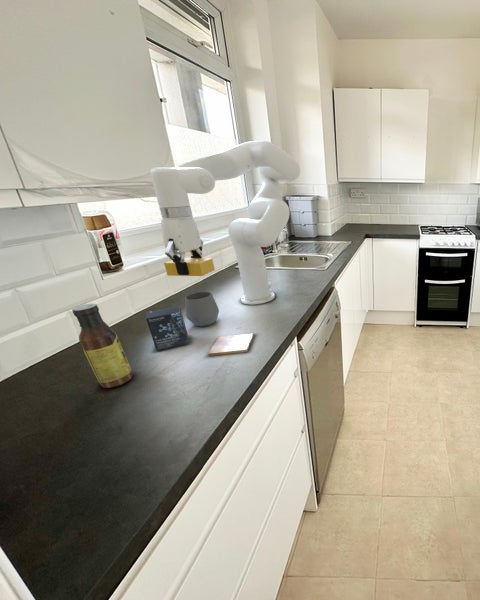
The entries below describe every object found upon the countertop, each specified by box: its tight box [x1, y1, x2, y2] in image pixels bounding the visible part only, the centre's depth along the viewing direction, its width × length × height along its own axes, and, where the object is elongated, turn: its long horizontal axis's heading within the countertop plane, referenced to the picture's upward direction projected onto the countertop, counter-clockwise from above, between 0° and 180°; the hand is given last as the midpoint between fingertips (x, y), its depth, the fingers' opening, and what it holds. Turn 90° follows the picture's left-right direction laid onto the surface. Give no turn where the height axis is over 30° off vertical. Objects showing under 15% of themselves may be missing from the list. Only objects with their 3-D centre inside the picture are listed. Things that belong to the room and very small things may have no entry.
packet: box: [163, 257, 216, 277], centre depth 98 cm, size 6×11×4 cm, turn 88°
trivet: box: [207, 332, 255, 357], centre depth 92 cm, size 10×10×1 cm
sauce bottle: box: [71, 303, 133, 389], centre depth 72 cm, size 7×6×20 cm
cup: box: [184, 291, 220, 327], centre depth 104 cm, size 10×9×10 cm
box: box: [145, 305, 190, 352], centre depth 91 cm, size 8×6×11 cm
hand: (191, 270), depth 98 cm, fingers closed on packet, 6 cm apart
